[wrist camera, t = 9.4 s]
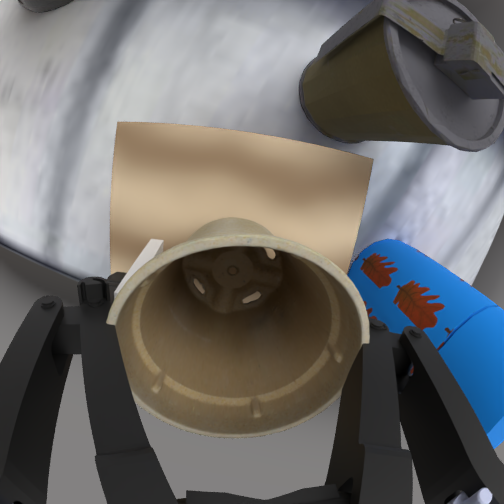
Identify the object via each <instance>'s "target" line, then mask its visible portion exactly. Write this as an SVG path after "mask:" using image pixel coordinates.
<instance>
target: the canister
mask: <svg viewBox="0 0 504 504" xmlns="http://www.w3.org/2000/svg"><path fill="white" fill-rule="evenodd" d="M494 40H495V39H494V37H493V36H492V35H491V34H490V33H489V31H488V30H487V29H486V28H485V27H484V26H483V25H482V24H481V23H479V22H478V20H477V19H476V18H475V17H474V16H473V15H472V14H471V13H470V12H469V11H468V10H467V9H466V8H465V7H464V6H463V5H462V4H460V3H459V2H458V1H456V0H373V1H372V2H371V3H370V4H369V5H367V6H366V7H365V8H364V9H362V10H361V11H360V12H359V13H358V14H356V15H355V16H354V17H353V18H352V19H350V20H349V21H348V22H347V23H346V24H345V25H344V26H342V27H341V28H340V29H339V30H338V31H337V32H336V33H335V34H333V35H332V36H331V37H330V38H329V39H328V40H327V41H326V42H325V43H324V44H322V46H321V48H320V51H319V53H318V56H317V57H316V58H315V59H313V60H312V61H311V62H310V63H309V64H308V65H307V67H306V68H305V69H304V72H303V74H302V77H301V80H300V85H299V93H300V98H301V104H302V107H303V109H304V112H305V114H306V116H307V117H308V119H309V120H310V122H311V123H312V124H313V125H314V126H315V127H316V128H317V129H318V130H319V131H320V132H322V133H323V134H324V135H326V136H328V137H330V138H332V139H335V140H337V141H340V142H345V143H358V142H362V141H365V140H366V141H398V142H415V143H428V144H440V145H450V146H452V147H454V148H457V149H459V150H462V151H469V152H478V151H480V150H483V149H485V148H487V147H489V146H491V145H492V144H494V143H495V141H496V140H497V139H498V137H499V136H500V134H501V133H502V131H503V128H504V52H503V51H502V50H501V49H500V48H499V47H498V45H497V44H496V43H495V42H494Z"/></svg>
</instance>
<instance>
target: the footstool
mask: <svg viewBox="0 0 504 504" xmlns="http://www.w3.org/2000/svg"><path fill="white" fill-rule="evenodd" d="M372 164H373V159H371V158H368V157H364V156H360V155H357V154H353V153H349V152H345V151H341V150H337V149H333V148H329V147H324V146H320V145H315V144H311V143H306V142H301V141H296V140H291V139H286V138H281V137H275V136H269V135H263V134H257V133H251V132H244V131H237V130H229V129H221V128H213V127H203V126H193V125H181V124H167V123H148V122H117V130H116V138H115V147H114V157H113V168H112V182H111V203H110V264H111V275H112V274H113V273H115V272H124V273H127V272H128V271H129V269H130V268H131V266H132V265H133V264H134V262H135V261H136V259H137V258H138V256H139V255H140V254H141V252H142V251H143V249H144V248H145V247H146V245H147V244H148V242H149V241H150V240H151V239H158V240H164V244H163V252H164V251H166V250H168V249H170V248H172V247H174V246H176V245H179V244H181V243H184V242H187V240H188V239H189V238H190V237H191V235H192V234H193V233H194V232H195V231H197V230H198V229H199V228H200V227H202V226H203V225H205V224H207V223H209V222H211V221H214V220H217V219H221V218H228V217H235V218H243V219H248V220H251V221H254V222H256V223H258V224H260V225H262V226H264V227H265V228H266V229H268V230H269V231H270V232H271V233H272V234H273V235H274V236H277V237H281V238H284V239H288V240H291V241H294V242H297V243H300V244H302V245H305V246H307V247H309V248H311V249H313V250H314V251H316V252H318V253H320V254H321V255H323V256H325V257H326V258H328V259H329V260H330V261H332V262H333V263H334V264H335V265H337V266H338V267H339V268H340V269H341V270H342V271H343V272H344V273H345V274H346V275H347V272H348V268H349V264H350V261H351V257H352V253H353V250H354V246H355V242H356V238H357V234H358V230H359V226H360V222H361V217H362V213H363V209H364V204H365V200H366V195H367V190H368V185H369V180H370V175H371V170H372ZM265 250H266V252H267V255H268V257H269V258H271V259H274V258H275V252H274V251H273V249H270V248H265ZM229 273H230V274H235V273H236V269H235V268H233V267H232V268H230V269H229ZM194 284H195V286H196V287H197V289H198V290H199V291H200V292H201V293H202V294H203V293H204V292H205V290H204V289H203V288H202V284H200V283H199V282H198V281H197V279H194ZM260 296H261V294H260V293H259V292H258V291H256V293H254V294H252V295H250V296H248V297H246V298H244V299H243V303H249V302H250V301H253V300H256V299H258V298H259V297H260Z"/></svg>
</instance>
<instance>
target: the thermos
mask: <svg viewBox="0 0 504 504" xmlns="http://www.w3.org/2000/svg"><path fill="white" fill-rule="evenodd" d="M347 276H348V277H349V278H350V280H351V281H352V282H353V284H354V285H355V287H356V288H357V290H358V291H359V293H360V296H361V298H362V299H363V302H364V304H365V307H366V311H367V315H368V316H369V317H370V318H372V319H377V320H380V321H382V322H383V323H385V324H386V325H387V326H388V328H389V332H393V333H398V334H402V332H403V329H404V327H406V326H415V327H417V328H420V329H421V330H422V331H424V332H425V333H426V334H427V336H428V337H429V339H430V340H431V342H432V343H433V345H434V346H435V348H436V349H437V351H438V352H439V354H440V355H441V357H442V358H443V360H444V362H445V363H446V365H447V366H448V368H449V369H450V371H451V373H452V374H453V376H454V378H455V379H456V381H457V382H458V384H459V386H460V387H461V389H462V391H463V393H464V394H465V396H466V398H467V399H468V401H469V403H470V405H471V406H472V408H473V410H474V412H475V414H476V415H477V417H478V419H479V421H480V423H481V425H482V427H483V429H484V431H485V433H486V434H487V436H488V438H489V440H490V442H491V445H492V447H493V449H495V448H496V447H497V446H498V445H499V444H500V443H502V442H503V441H504V310H503V309H502V308H500V307H499V306H498V305H496V304H495V303H494V302H493V301H491V300H490V299H488V298H487V297H486V296H484V295H483V294H482V293H480V292H479V291H478V290H476V289H475V288H473V287H472V286H471V285H469V284H468V283H466V282H465V281H464V280H462V279H461V278H459V277H458V276H456V275H455V274H453V273H452V272H451V271H449V270H448V269H446V268H445V267H443V266H442V265H440V264H439V263H437V262H436V261H434V260H432V259H431V258H429V257H428V256H426V255H425V254H423V253H422V252H420V251H418V250H417V249H415V248H413V247H411V246H409V245H407V244H405V243H403V242H401V241H399V240H392V239H385V240H381V241H378V242H375V243H373V244H372V245H370V246H369V247H367V248H366V249H364V250H363V251H362V252H361V253H360V255H359V256H358V257H357V258H356V259H355V261H354V262H353V264H352V266H351V269H350V271H349V273H348V275H347ZM413 371H414V366H413V367H412V369H411V371H410V372H411V374H412V375H413Z"/></svg>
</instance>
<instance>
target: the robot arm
mask: <svg viewBox="0 0 504 504" xmlns="http://www.w3.org/2000/svg"><path fill="white" fill-rule="evenodd" d="M71 1H72V0H18V2H19V3H20V4H21V5H22V6H24V7H25V8H27V9H29V10H31V11H33V12H46V11H50V10H53V9H56V8H58V7H61V6H63V5H65V4H67V3H69V2H71ZM163 244H164V240H158V239H151V240H150V241H149V242H148V244H147V245H146V247H145V248H144V249H143V251H142V252H141V254H140V255H139V256H138V258H137V259H136V261H135V262H134V264H133V265H132V266H131V268H130V269H129V271H128V272H127V273H124V272H115V273H113V274H112V275H110V276H109V277H108V279H107V280H106V279H104V278H101V277H88V278H85V279H82V280H81V281H79V282H78V285H77V287H78V294H79V302H80V306H75V307H63V302H62V300H61V299H60V298H59V297H56V296H44V297H41V298H40V299H38V300H37V301H36V302H35V303H34V304H33V306H32V308H31V309H30V311H29V313H28V314H27V316H26V317H25V319H24V321H23V323H22V324H21V326H20V328H19V329H18V331H17V333H16V335H15V336H14V338H13V340H12V342H11V344H10V346H9V348H8V349H7V351H6V353H5V355H4V357H3V359H2V361H1V363H0V504H46V500H47V488H48V476H49V467H50V458H51V452H52V445H53V439H54V433H55V427H56V422H57V417H58V412H59V408H60V403H61V398H62V394H63V390H64V386H65V382H66V378H67V375H68V371H69V367H70V363H71V360H72V357H73V354H82V366H83V376H84V385H85V393H86V400H87V407H88V413H89V418H90V424H91V429H92V435H93V439H94V444H95V448H96V454H97V455H96V456H95V461H96V466H97V470H98V474H99V478H100V481H101V485H102V488H103V491H104V494H105V497H106V500H107V504H412V489H413V487H412V486H413V482H412V481H413V478H412V460H413V463H414V467H415V470H416V474H417V477H418V481H419V484H420V488H421V492H422V495H423V499H424V502H425V504H504V464H503V463H502V462H501V461H500V460H499V458H498V457H497V455H496V453H495V451H494V449H493V447H492V445H491V442H490V440H489V438H488V436H487V434H486V433H485V431H484V429H483V427H482V425H481V423H480V421H479V419H478V417H477V415H476V414H475V412H474V410H473V408H472V406H471V405H470V403H469V401H468V399H467V398H466V396H465V394H464V393H463V391H462V389H461V387H460V386H459V384H458V382H457V381H456V379H455V378H454V376H453V374H452V373H451V371H450V369H449V368H448V366H447V365H446V363H445V362H444V360H443V358H442V357H441V355H440V354H439V352H438V351H437V349H436V348H435V346H434V345H433V343H432V342H431V340H430V339H429V337H428V336H427V334H426V333H425V332H424V331H422V330H421V329H420V328H417V327H415V326H406V327H404V329H403V332H402V334H398V333H393V332H389V328H388V326H387V325H386V324H385V323H383V322H382V321H380V320H377V319H372V318H370V317H369V316H368V315H367V316H368V319H369V335H370V338H369V343H363V344H362V346H361V348H360V350H359V352H358V354H357V356H356V358H355V360H354V362H353V364H352V366H351V369H350V371H349V373H348V376H347V378H346V381H345V383H344V385H343V388H342V393H341V400H340V407H339V414H338V421H337V427H336V433H335V439H334V444H333V450H332V455H331V460H330V465H329V469H328V474H327V479H326V482H325V485H324V486H319V487H312V488H304V489H300V490H297V491H294V492H292V493H289V494H286V495H282V496H279V497H276V498H272V499H269V500H261V499H255V498H249V497H244V496H239V495H234V494H229V493H219V492H200V491H188V490H187V491H186V498H182V499H176V498H175V496H174V494H173V492H172V490H171V488H170V486H169V483H168V481H167V479H166V477H165V475H164V472H163V470H162V468H161V466H160V463H159V461H158V459H157V456H156V454H155V452H154V450H153V448H152V447H151V446H150V444H149V441H148V439H147V436H146V433H145V431H144V428H143V425H142V422H141V419H140V416H139V413H138V410H137V407H136V404H135V401H134V398H133V395H132V391H131V388H130V384H129V381H128V377H127V374H126V370H125V366H124V362H123V358H122V354H121V350H120V346H119V342H118V337H117V333H116V328H115V325H111V324H107V323H106V321H107V318H108V314H109V311H110V309H111V306H112V304H113V302H114V300H115V297H116V296H117V294H118V293H119V291H120V290H121V288H122V287H123V286H124V284H125V283H126V282H127V281H128V279H129V278H130V277H131V276H132V275H133V274H134V273H135V272H136V271H137V270H138V269H139V268H141V267H142V266H143V265H144V264H145V263H147V262H148V261H149V260H151V259H152V258H154V257H155V256H157V255H159V254H160V253H162V252H163ZM413 366H414V371H413V375H412V374H411V372H410V371H411V369H412V367H413ZM400 422H401V425H402V428H403V431H404V434H405V438H406V440H407V444H408V447H409V450H410V451H409V450H405V449H401V433H400Z"/></svg>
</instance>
